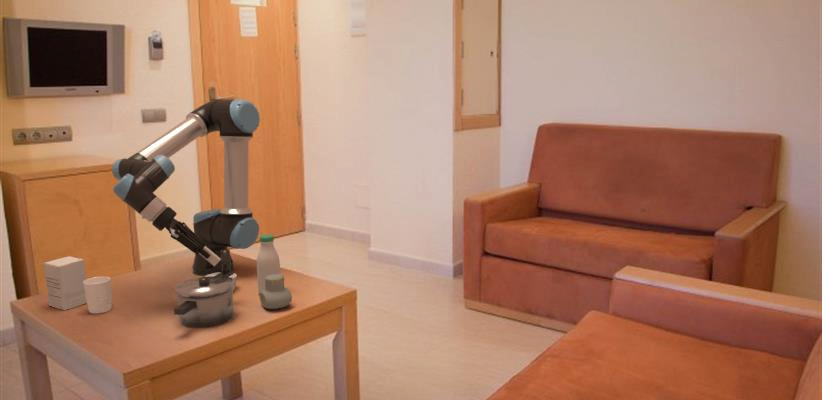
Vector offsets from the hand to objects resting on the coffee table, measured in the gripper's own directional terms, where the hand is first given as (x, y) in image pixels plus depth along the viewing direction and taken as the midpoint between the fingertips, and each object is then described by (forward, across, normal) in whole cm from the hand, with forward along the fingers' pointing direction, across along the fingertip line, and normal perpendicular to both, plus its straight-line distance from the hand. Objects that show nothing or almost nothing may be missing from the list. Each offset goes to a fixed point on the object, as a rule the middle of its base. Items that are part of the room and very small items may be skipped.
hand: (217, 262), depth 211 cm
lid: (+2, +9, -4) cm, 10 cm away
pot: (+8, +13, -12) cm, 19 cm away
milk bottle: (+21, -8, +1) cm, 22 cm away
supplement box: (-25, -9, -45) cm, 53 cm away
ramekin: (+9, -14, -11) cm, 20 cm away
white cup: (-17, -2, -37) cm, 40 cm away
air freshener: (+23, +6, +3) cm, 24 cm away
